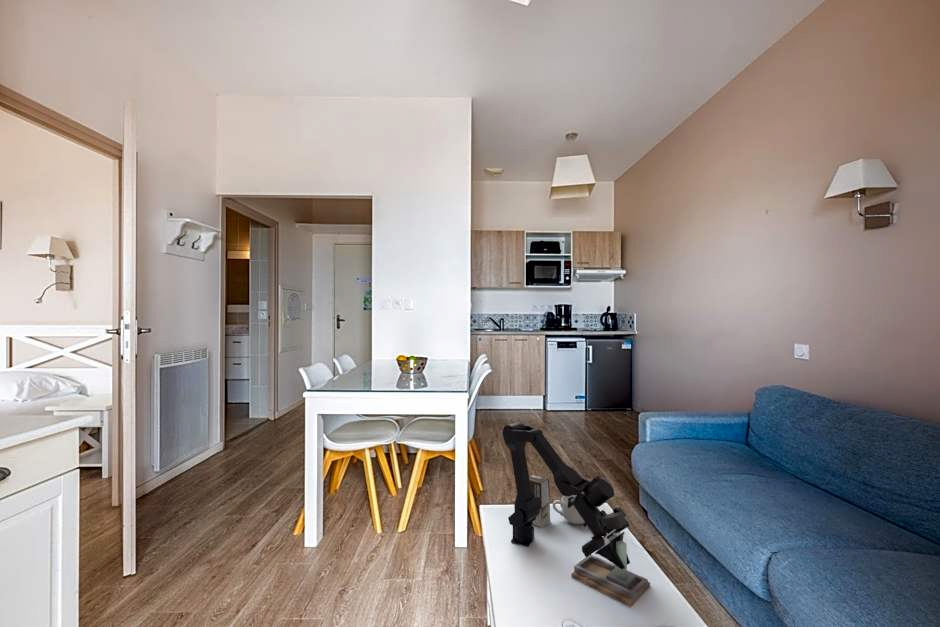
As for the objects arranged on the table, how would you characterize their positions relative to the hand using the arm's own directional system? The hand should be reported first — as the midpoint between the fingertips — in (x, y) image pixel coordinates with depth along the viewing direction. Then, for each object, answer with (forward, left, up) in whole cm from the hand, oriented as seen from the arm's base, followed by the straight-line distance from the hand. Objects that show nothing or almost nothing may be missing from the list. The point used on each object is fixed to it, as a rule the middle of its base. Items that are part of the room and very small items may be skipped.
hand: (626, 566), depth 120 cm
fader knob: (-1, +1, -5) cm, 5 cm away
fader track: (-5, +2, -7) cm, 8 cm away
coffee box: (-35, +28, -7) cm, 45 cm away
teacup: (-23, +34, -7) cm, 41 cm away
